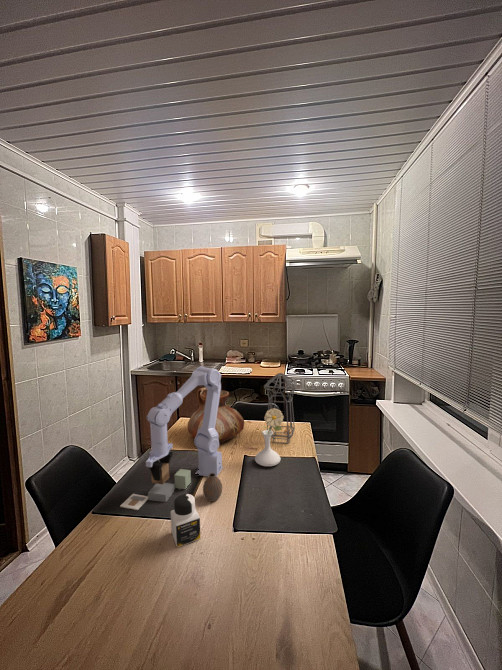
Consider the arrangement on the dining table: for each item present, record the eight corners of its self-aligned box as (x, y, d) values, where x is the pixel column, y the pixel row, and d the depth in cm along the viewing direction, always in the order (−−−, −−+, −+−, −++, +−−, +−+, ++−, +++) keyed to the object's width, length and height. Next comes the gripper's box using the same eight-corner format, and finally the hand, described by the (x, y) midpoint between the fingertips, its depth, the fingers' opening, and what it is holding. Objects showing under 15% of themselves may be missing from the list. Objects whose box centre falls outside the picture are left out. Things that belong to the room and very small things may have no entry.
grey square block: (174, 491, 114) (174, 483, 114) (166, 503, 107) (165, 495, 107) (158, 489, 115) (157, 481, 115) (148, 500, 108) (147, 492, 108)
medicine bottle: (176, 548, 86) (175, 509, 85) (171, 532, 92) (169, 495, 91) (200, 539, 89) (199, 501, 88) (193, 524, 96) (192, 488, 95)
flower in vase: (251, 466, 130) (250, 410, 128) (260, 454, 141) (259, 402, 138) (280, 472, 125) (279, 413, 123) (287, 459, 136) (287, 405, 133)
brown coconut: (225, 494, 111) (225, 472, 110) (216, 506, 104) (215, 482, 104) (209, 490, 114) (209, 468, 113) (199, 500, 107) (198, 477, 107)
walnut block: (169, 477, 112) (168, 463, 112) (162, 484, 108) (162, 469, 107) (158, 475, 113) (158, 462, 113) (151, 482, 109) (151, 468, 108)
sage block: (191, 483, 118) (190, 470, 118) (185, 490, 114) (185, 476, 113) (180, 482, 119) (180, 468, 119) (175, 488, 115) (174, 475, 114)
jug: (250, 427, 172) (249, 384, 170) (235, 452, 143) (234, 401, 140) (201, 423, 179) (199, 382, 176) (177, 446, 150) (175, 397, 147)
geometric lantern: (264, 445, 150) (262, 375, 148) (269, 433, 165) (267, 370, 163) (295, 447, 147) (294, 376, 144) (298, 434, 162) (297, 370, 160)
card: (149, 497, 110) (149, 496, 110) (137, 510, 103) (137, 508, 103) (133, 494, 111) (132, 493, 111) (120, 506, 105) (120, 505, 105)
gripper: (160, 431, 117) (162, 464, 118) (137, 448, 103) (139, 485, 104) (176, 433, 115) (178, 466, 117) (155, 450, 101) (157, 488, 103)
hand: (160, 476), depth 110 cm, fingers closed on walnut block, 4 cm apart
